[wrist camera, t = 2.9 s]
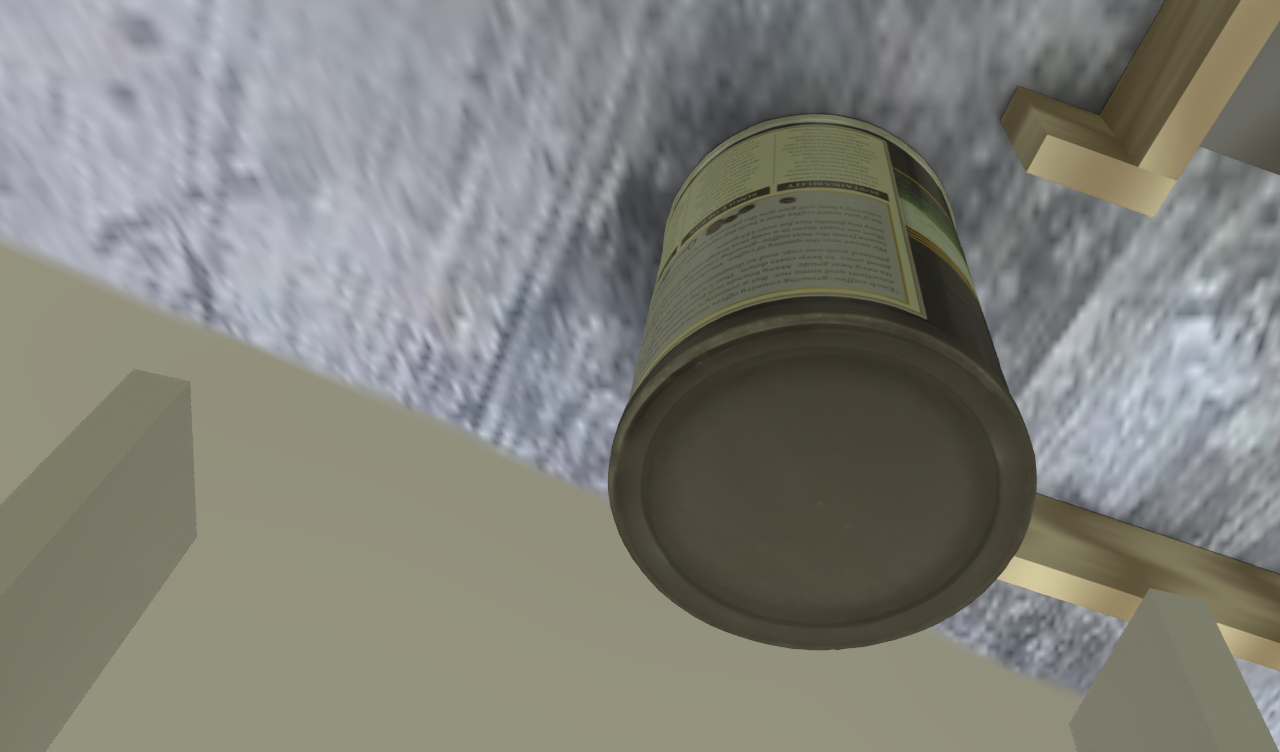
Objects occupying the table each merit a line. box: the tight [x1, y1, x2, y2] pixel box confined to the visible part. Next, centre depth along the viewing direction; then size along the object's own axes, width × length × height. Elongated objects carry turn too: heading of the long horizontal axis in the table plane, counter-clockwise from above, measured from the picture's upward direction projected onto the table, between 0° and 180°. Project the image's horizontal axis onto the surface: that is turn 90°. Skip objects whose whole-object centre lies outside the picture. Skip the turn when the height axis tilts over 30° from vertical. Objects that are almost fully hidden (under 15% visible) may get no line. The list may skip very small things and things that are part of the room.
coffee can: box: [608, 114, 1037, 650], centre depth 32 cm, size 10×10×14 cm
